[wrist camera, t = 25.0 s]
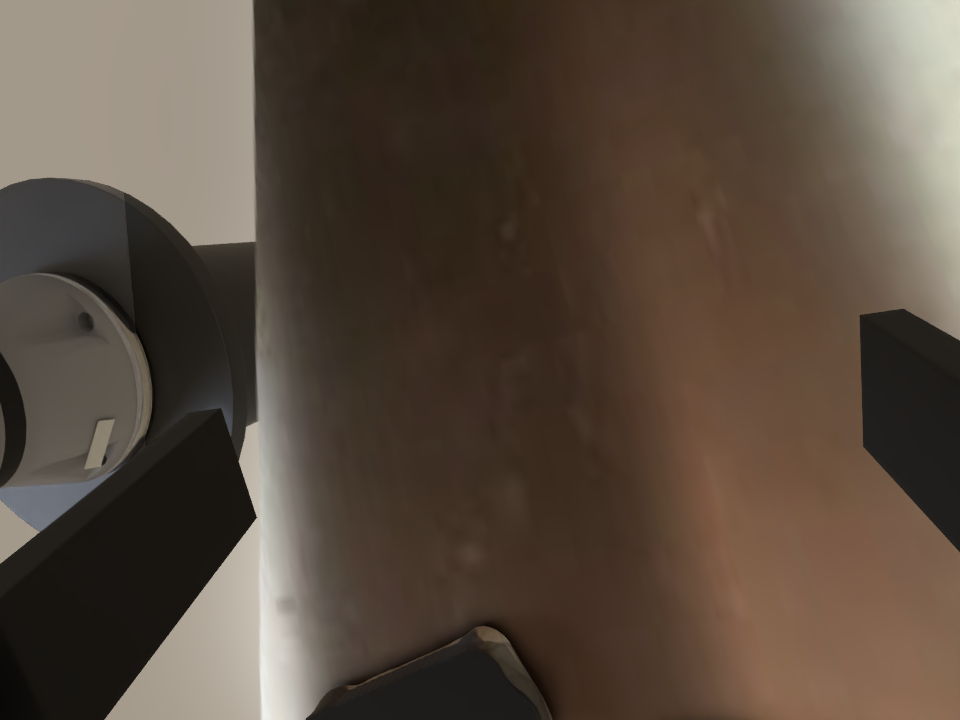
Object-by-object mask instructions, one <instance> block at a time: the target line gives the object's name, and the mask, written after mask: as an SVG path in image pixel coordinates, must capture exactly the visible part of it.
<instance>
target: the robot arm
mask: <svg viewBox="0 0 960 720" xmlns="http://www.w3.org/2000/svg"><path fill="white" fill-rule="evenodd" d="M860 342H861V378H862V414H863V447H864V448H865V449H866V450H867V451H868V452H869V453H870V454H871V455H872V456H873V458H874V459H875V460H876V461H877V462H878V463H879V464H880V465H881V466H882V467H883V468H884V470H885V471H886V472H887V473H888V474H889V475H890V476H891V477H892V478H893V479H894V481H895V482H896V483H897V484H898V485H899V486H900V487H901V488H902V489H903V490H904V491H905V493H906V494H907V495H908V496H909V497H910V498H911V499H912V500H913V501H914V502H915V504H916V505H917V506H918V507H919V508H920V509H921V510H922V511H923V512H924V513H925V514H926V516H927V517H928V518H929V519H930V520H931V521H932V522H933V523H934V524H935V525H936V526H937V528H938V529H939V530H940V531H941V532H942V533H943V534H944V535H945V536H946V537H947V539H948V540H949V541H950V542H951V543H952V544H953V545H954V546H955V547H956V548H957V549H958V551H959V552H960V341H959V340H958V339H956V338H954V337H952V336H951V335H949V334H947V333H945V332H943V331H942V330H940V329H938V328H936V327H935V326H933V325H931V324H929V323H928V322H926V321H924V320H922V319H920V318H919V317H917V316H915V315H913V314H912V313H910V312H908V311H906V310H905V309H899V310H892V311H885V312H878V313H871V314H864V315H860ZM154 407H155V385H154V377H153V371H152V366H151V362H150V359H149V355H148V352H147V350H146V347H145V344H144V342H143V340H142V338H141V336H140V334H139V332H138V330H137V328H136V326H135V325H134V323H133V322H132V320H131V319H130V317H129V316H128V314H127V313H126V312H125V310H124V309H123V308H122V307H121V306H120V305H119V303H118V302H117V301H116V300H115V299H114V298H113V297H111V296H110V295H109V294H108V293H107V292H106V291H104V290H103V289H102V288H100V287H99V286H97V285H96V284H94V283H93V282H91V281H89V280H87V279H85V278H82V277H80V276H77V275H74V274H70V273H64V272H44V273H33V274H25V275H21V276H17V277H14V278H12V279H9V280H6V281H4V282H2V283H0V488H9V487H25V486H41V485H56V484H72V483H79V482H86V481H90V480H93V479H96V478H98V477H100V476H103V475H105V474H107V473H110V472H112V471H114V470H117V469H118V470H117V471H116V472H115V473H113V474H112V475H111V476H110V477H108V478H107V479H106V480H105V481H103V482H102V483H101V484H100V485H98V486H97V487H96V488H95V489H93V490H92V491H91V492H90V493H88V494H87V495H86V496H85V497H83V498H82V499H81V500H80V501H78V502H77V503H76V504H75V505H73V506H72V507H71V508H70V509H68V510H67V511H66V512H65V513H63V514H62V515H61V516H60V517H58V518H57V519H56V520H55V521H53V522H52V523H51V524H50V525H48V526H47V527H46V528H45V529H43V530H42V531H41V532H40V533H38V534H37V535H36V536H35V537H34V538H32V539H31V540H30V541H28V542H27V543H26V544H25V545H24V546H22V547H21V548H20V549H18V550H17V551H16V552H15V553H14V554H12V555H11V556H10V557H8V558H7V559H6V560H5V561H3V562H2V563H1V564H0V720H104V719H105V718H106V717H107V715H108V714H109V713H110V711H111V710H112V709H113V707H114V706H115V705H116V703H117V702H118V701H119V700H120V698H121V697H122V696H123V694H124V693H125V692H126V690H127V689H128V688H129V686H130V685H131V684H132V682H133V681H134V680H135V678H136V677H137V676H138V674H139V673H140V672H141V670H142V669H143V668H144V666H145V665H146V664H147V662H148V661H149V660H150V658H151V657H152V656H153V654H154V653H155V652H156V651H157V649H158V648H159V647H160V645H161V644H162V642H163V641H164V640H165V639H166V637H167V636H168V635H169V633H170V632H171V631H172V629H173V628H174V627H175V625H176V624H177V623H178V621H179V620H180V619H181V617H182V616H183V615H184V613H185V612H186V611H187V609H188V608H189V607H190V605H191V604H192V603H193V601H194V600H195V599H196V597H197V596H198V595H199V593H200V592H201V591H202V590H203V588H204V587H205V586H206V584H207V583H208V582H209V580H210V579H211V578H212V576H213V575H214V574H215V572H216V571H217V570H218V568H219V567H220V566H221V564H222V563H223V562H224V560H225V559H226V558H227V556H228V555H229V554H230V552H231V551H232V550H233V549H234V547H235V546H236V544H237V543H238V542H239V541H240V539H241V538H242V536H243V535H244V534H245V533H246V531H247V530H248V529H249V527H250V526H251V525H252V523H253V522H254V521H255V519H256V518H257V517H256V514H255V511H254V508H253V505H252V501H251V498H250V496H249V492H248V489H247V486H246V483H245V480H244V477H243V474H242V471H241V468H240V465H239V462H238V459H237V455H236V452H235V449H234V446H233V443H232V440H231V437H230V434H229V431H228V428H227V425H226V422H225V419H224V416H223V413H222V410H221V408H219V409H212V410H205V411H198V412H191V413H188V414H187V415H186V416H184V417H183V418H182V419H181V420H179V421H178V422H177V423H176V424H174V425H173V426H172V427H171V428H169V429H168V430H167V431H166V432H165V433H163V434H162V435H161V436H160V437H158V438H157V439H156V440H155V441H153V442H152V443H151V444H150V445H148V446H147V447H146V448H145V449H143V450H142V451H141V452H140V453H138V454H137V452H138V451H139V450H140V449H141V447H142V445H143V444H144V442H145V440H146V438H147V435H148V433H149V430H150V427H151V424H152V420H153V415H154ZM136 454H137V455H136ZM135 455H136V456H135ZM134 456H135V457H134ZM120 467H121V468H120ZM119 468H120V469H119Z"/></svg>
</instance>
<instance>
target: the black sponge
mask: <svg viewBox="0 0 960 720" xmlns="http://www.w3.org/2000/svg"><path fill="white" fill-rule="evenodd" d="M306 720H553V719H552V716H551V714H550V711H549V709H548V707H547V705H546V703H545V700H544V698H543V696H542V695H541V693H540V691H539V690H538V688H537V686H536V685H535V683H534V682H533V681H532V679H531V677H530V676H529V674H528V672H527V671H526V669H525V667H524V666H523V664H522V663H521V661H520V659H519V657H518V655H517V654H516V652H515V650H514V649H513V647H512V646H511V644H510V642H509V641H508V640H507V638H506V637H505V636H504V635H503V634H501V633H500V632H498V631H497V630H495V629H493V628H490V627H486V626H479V627H475V628H474V629H472V630H471V631H470V632H469V633H467V634H466V635H464V636H463V637H462V638H460V639H457V640H455V641H454V642H452V643H450V644H448V645H446V646H444V647H442V648H439V649H438V650H436V651H433V652H431V653H429V654H426V655H424V656H422V657H419V658H417V659H415V660H413V661H410V662H408V663H406V664H404V665H402V666H400V667H397V668H394V669H391V670H388V671H386V672H385V673H381V674H379V675H377V676H375V677H373V678H371V679H369V680H367V681H366V682H364V683H361V684H359V685H343V686H340V687H338V688H335V689H333V690H331V691H329V692H328V693H327V694H326V695H325V696H324V697H323V698H322V700H321V701H320V702H319V704H318V705H317V707H316V708H315V710H314V711H313V713H312V714H311V715H310V716H308V717H307V718H306Z"/></svg>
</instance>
